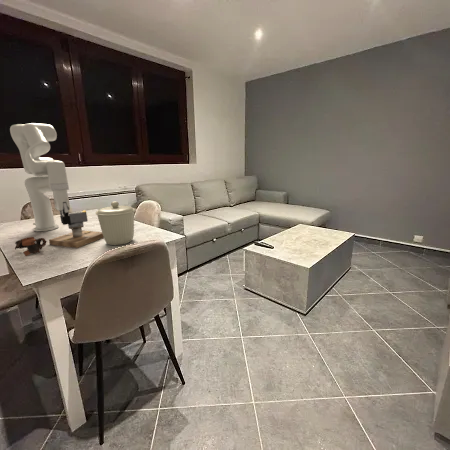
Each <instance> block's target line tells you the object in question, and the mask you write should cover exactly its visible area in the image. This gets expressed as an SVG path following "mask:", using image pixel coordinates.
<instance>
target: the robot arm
mask: <svg viewBox="0 0 450 450" xmlns="http://www.w3.org/2000/svg"><path fill="white" fill-rule="evenodd" d="M9 127H10V128H9V132H10V136H11V138H12V140H13V142H14V143H15V145H16V147H17V148H18V150H19V154H20V157H21V158H20V159H21V161H22V167H23V169H24V172H26V174H27V175H33V176H32V177H31V176H30V177H28V178H26V179H25V180H24V187H25V189H26V191H27V194H28V197H29V201H30V205H31V209H32V214H33V217H34V222H33V224H32V225H33V226H35V227H34V228H33V231H34V232H48V231H52V230H56V229H58V228H59V225H58V224H56V222H55V218H54V212H53V208H52V203H51V200H50V197H48V196H47V195H45V193H52V195H53V204H54V209H55V210H56V211H58V212H59V215H60V216H59V217H60V223H61V224H62V225H63V224H64V226H65V225H66V226H67V225H68V224H71V221H70V216H69V213H70V212H69V211H70V210H71V204H70V200H69V198H70V197H69V194H68V191H69V190H70V188H69V183H68V177H67V171H66V165H65V162H64V161H62V160H57V159H53V158H52V157H41V156H43V155H46V154H47V153H48V152H49V151H50V150H51V144H50V142H54V141H56V140H57V138H58V137H57V136H58V134H57V131H56V129H55V128H54V126H53V125H51V124H47V123H36V122H31V123H25V124H22V123H17V124H12V125H11V126H9ZM61 214H62V216H63V217H61ZM62 220H63V222H62Z"/></svg>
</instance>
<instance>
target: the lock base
mask: <svg viewBox="0 0 450 450" xmlns="http://www.w3.org/2000/svg"><path fill="white" fill-rule="evenodd" d="M82 228H83V227H82ZM82 228H78V229H71V232H68V233H66V234H62V235H60V236H56V237H54V238H50V239H48V242H49V245H51V246H58V247H66V248H75V249H78V248H81V247H84V246H86V245H89V244H91V243H93V242H96V241H98V240H101V239H104V237H103V234H102V231H93V230H82Z"/></svg>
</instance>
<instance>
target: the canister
mask: <svg viewBox="0 0 450 450" xmlns="http://www.w3.org/2000/svg"><path fill="white" fill-rule="evenodd" d="M135 211H136V209H135V208H133V207H132V206H130V205H120V204H119V202H118V201H116V200H115V201H112V202H111V203H110V206H105V207H103V208H101V207H100V209H98V210H97V211H96V212H95V215H96V216H97V218H98V222H99V223H98V224H99V226H100V229H101V232H102V234H103V237H104V238H103V239H104V241H105V243H106V244H108V245H109V246H110V245H111V246H120V245H121V246H122V245H125V244H129V243H130V242H132V240H133V239H134V237H135V236H134V234H135Z"/></svg>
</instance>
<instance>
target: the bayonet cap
mask: <svg viewBox="0 0 450 450" xmlns="http://www.w3.org/2000/svg"><path fill="white" fill-rule="evenodd" d="M60 216H61V217H63V216H62V214H61V215H60ZM69 216H70V221H71V224H67V226H68V229H70V230H72V229H78V228H84V226H85V225H84V223H85V222H86V223H87V222H88V215H87V211H86V210H82V211H77V212H76V211H75V212H69ZM62 222H63V220H62ZM62 225H64V224H63V223H62ZM64 226H65V225H64Z"/></svg>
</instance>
